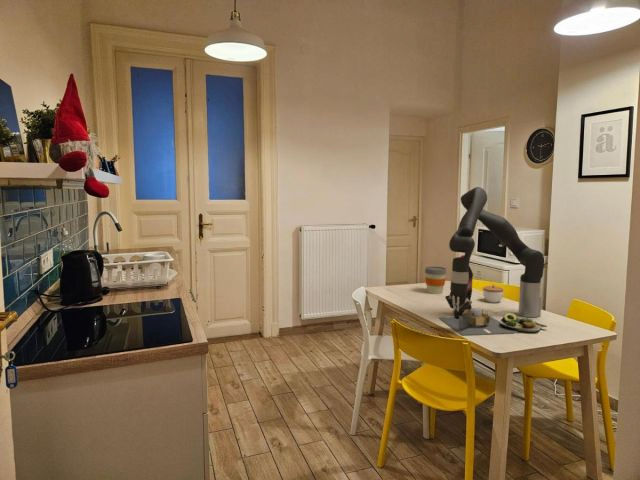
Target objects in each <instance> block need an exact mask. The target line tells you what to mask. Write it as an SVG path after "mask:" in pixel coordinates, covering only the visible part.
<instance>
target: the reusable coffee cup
mask: <svg viewBox="0 0 640 480" xmlns="http://www.w3.org/2000/svg"><path fill="white" fill-rule="evenodd" d="M424 269H425V271H424V273H425V280H424V281H425V285H426V290H427V291H426V292H427V293H428V294H430V295H431V294H432V295H442V294H443V292H444V286H445V285H446V284H445V283H446V274H447V268H445V267H443V266H426V267H425V268H424Z"/></svg>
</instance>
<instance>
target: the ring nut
mask: <svg viewBox="0 0 640 480" xmlns="http://www.w3.org/2000/svg"><path fill="white" fill-rule="evenodd" d="M480 309H481V310H482V317H475V316H474V312H471V311H469V309H466V310H464V312H463V313H462V315H460V316H459V328H462V329H463V328H465V327H467V326H470V325H487V324H489V321H490V317H491V315H490V314H489V313H487V312H484V309H482V308H480Z"/></svg>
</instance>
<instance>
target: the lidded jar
mask: <svg viewBox="0 0 640 480" xmlns="http://www.w3.org/2000/svg"><path fill="white" fill-rule="evenodd" d="M482 291H483V293H482V295H483V298H484V300H486V302H487V303H493V304H496V303H497V302H498V303H499V302H500V301H501V300H502V298H503V295H504V288H503V287H500V286H495V285H494V284H492V285H485V286H483V287H482Z"/></svg>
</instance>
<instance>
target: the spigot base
mask: <svg viewBox="0 0 640 480" xmlns="http://www.w3.org/2000/svg"><path fill="white" fill-rule="evenodd" d="M481 309H482V308H476V307H475V308H472V309H470V311H471V312H474V316H475V317H482V310H481ZM438 320H440V321H442V322H443V323H444V324H446V325H447V326H448V327H450V328H451V329H452V330H454V331H455V332H456V333H458V334H459V335H460V336H489V335H508V334H510V335H511V334H512V335H513V334H514V333H517V334H519V332H520V331H516V330H510V329H506V328H503V327H502V326H501V325H500V321H499V320H497V319H495V318H494V317H492V316H490V321H489V324H487V325H470V326H467V327H465V328H463V329H462V328H459V319H455V318H454V316H449V317H448V316H445V317H442V316H441V317H438ZM514 335H515V334H514Z"/></svg>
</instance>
